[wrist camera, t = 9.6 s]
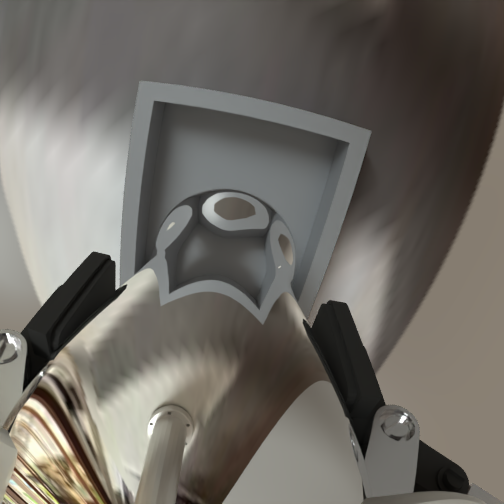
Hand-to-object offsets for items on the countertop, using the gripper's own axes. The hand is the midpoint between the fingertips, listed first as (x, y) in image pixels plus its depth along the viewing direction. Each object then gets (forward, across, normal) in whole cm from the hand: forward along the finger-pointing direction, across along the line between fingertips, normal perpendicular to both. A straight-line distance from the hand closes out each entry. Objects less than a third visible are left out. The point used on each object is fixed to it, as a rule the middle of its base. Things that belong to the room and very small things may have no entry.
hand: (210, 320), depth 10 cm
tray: (+12, 0, 0) cm, 12 cm away
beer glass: (+5, 0, 0) cm, 5 cm away
